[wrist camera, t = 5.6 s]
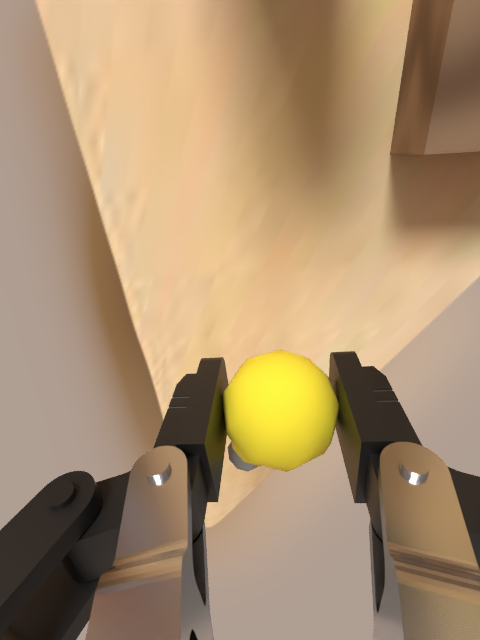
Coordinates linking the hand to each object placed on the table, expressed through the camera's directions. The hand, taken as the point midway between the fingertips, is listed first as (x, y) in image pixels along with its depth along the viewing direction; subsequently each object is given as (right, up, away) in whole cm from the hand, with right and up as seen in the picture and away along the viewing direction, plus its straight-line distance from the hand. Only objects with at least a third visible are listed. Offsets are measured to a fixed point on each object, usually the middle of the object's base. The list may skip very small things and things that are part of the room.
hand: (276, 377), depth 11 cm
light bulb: (0, -1, +1) cm, 2 cm away
